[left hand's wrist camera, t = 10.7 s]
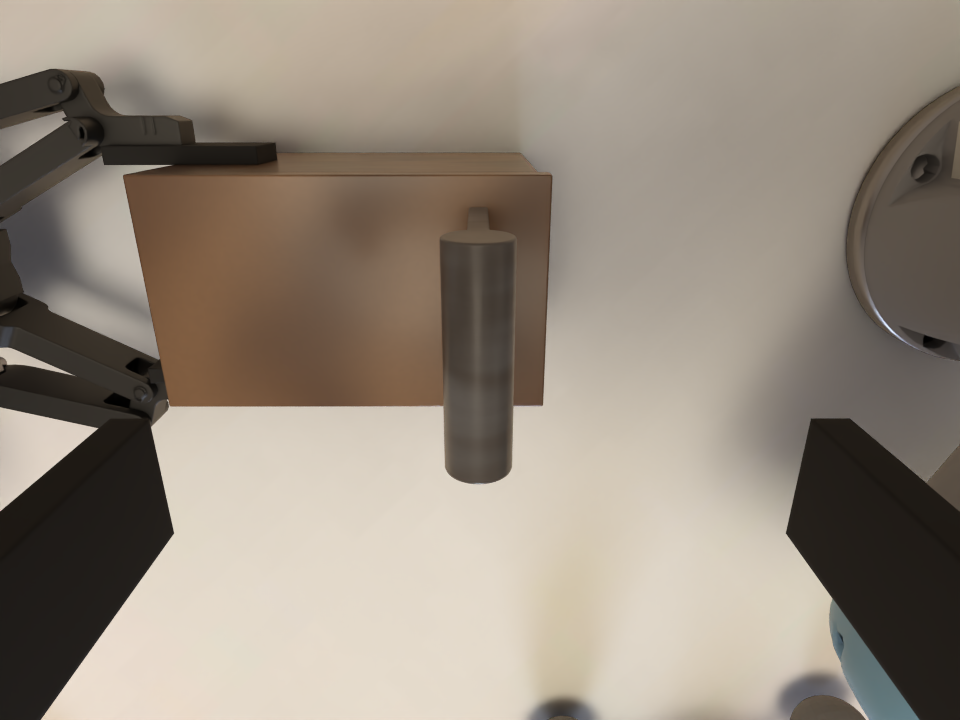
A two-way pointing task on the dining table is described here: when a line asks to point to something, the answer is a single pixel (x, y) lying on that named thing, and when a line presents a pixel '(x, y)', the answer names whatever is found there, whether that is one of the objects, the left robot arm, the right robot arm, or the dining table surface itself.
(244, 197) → the lid
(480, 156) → the chest
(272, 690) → the dining table surface
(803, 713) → the molecular model
